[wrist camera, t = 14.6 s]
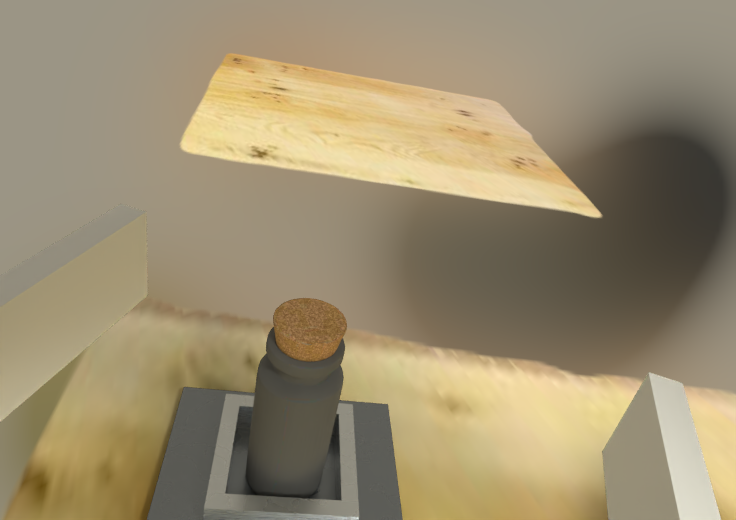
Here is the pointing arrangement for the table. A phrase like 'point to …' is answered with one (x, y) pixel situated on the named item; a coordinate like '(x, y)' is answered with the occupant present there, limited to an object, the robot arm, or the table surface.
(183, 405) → the collar plate
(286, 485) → the bottle
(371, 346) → the table surface
